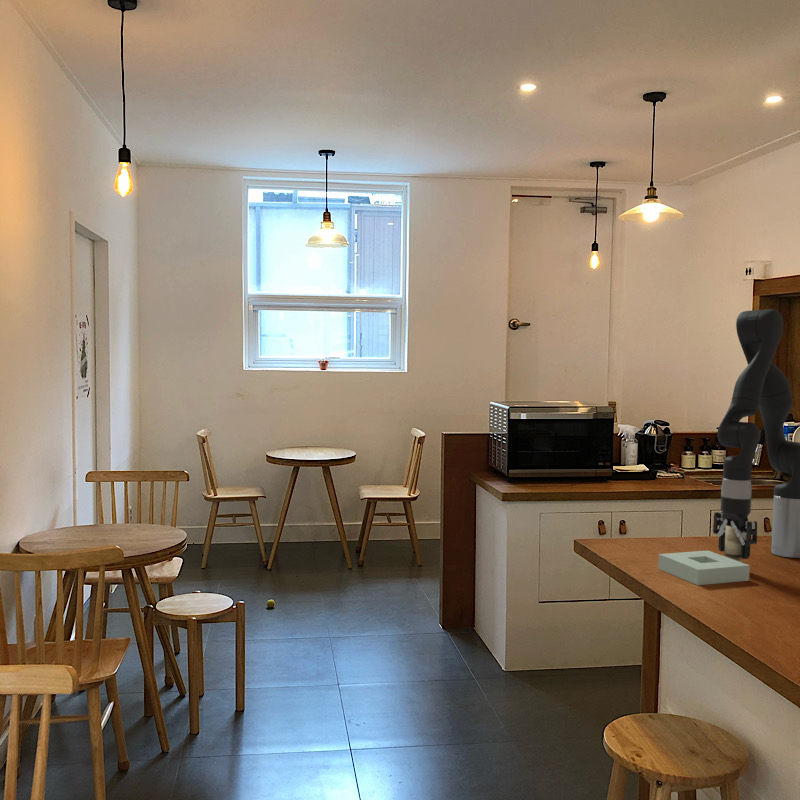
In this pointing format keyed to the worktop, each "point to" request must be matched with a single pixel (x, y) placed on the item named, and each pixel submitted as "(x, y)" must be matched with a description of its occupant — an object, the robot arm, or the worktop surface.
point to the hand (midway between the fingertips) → (733, 554)
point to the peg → (732, 544)
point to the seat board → (704, 567)
